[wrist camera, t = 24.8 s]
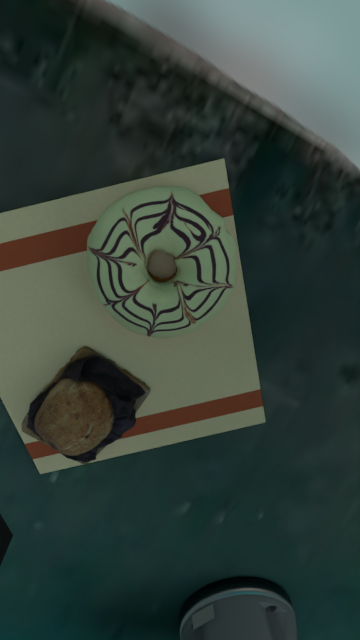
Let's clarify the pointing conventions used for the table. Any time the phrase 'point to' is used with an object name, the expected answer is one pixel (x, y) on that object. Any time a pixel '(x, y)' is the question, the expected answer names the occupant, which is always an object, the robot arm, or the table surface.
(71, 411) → the bread roll
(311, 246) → the table surface
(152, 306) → the decorated donut
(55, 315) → the towel
